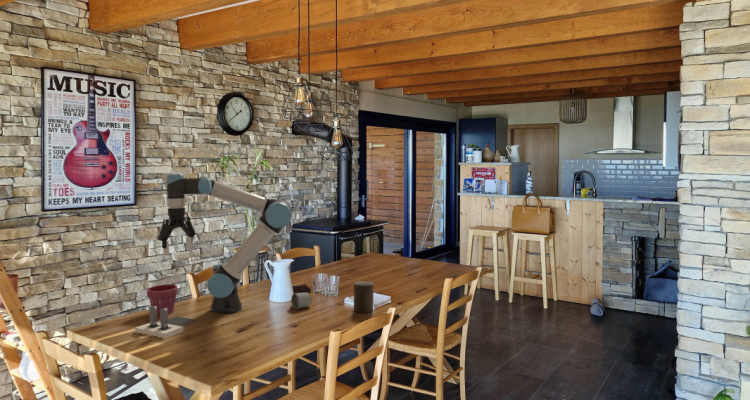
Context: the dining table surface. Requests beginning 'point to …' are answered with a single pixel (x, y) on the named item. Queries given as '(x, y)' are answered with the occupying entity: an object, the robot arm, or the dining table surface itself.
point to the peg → (164, 319)
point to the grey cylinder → (301, 300)
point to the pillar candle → (363, 297)
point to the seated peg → (153, 316)
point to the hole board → (159, 330)
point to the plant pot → (163, 297)
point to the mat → (180, 321)
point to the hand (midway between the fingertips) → (178, 252)
